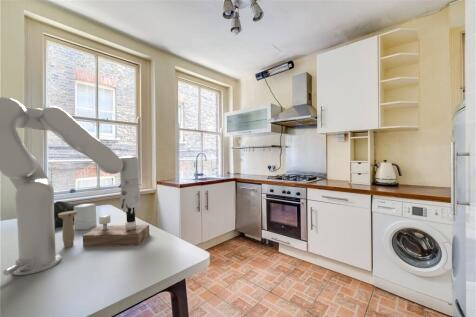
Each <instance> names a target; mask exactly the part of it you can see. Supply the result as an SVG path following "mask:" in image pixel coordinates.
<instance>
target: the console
mask: <svg viewBox="0 0 476 317" xmlns="http://www.w3.org/2000/svg"><path fill="white" fill-rule="evenodd" d="M148 235H149V236H150V224H136V228H135V229H133V230H130V231H129V230H126V227H125V225H124V224H122V225H119V224H118V225H107V231H103V225H99V226H98V227H96V228H94V229H92V230H90V231H89V232H87V233H84V234H82V247H83V248H84V247H86V248H87V247H89V248H90V247H91V248H92V247H121V246H122V247H129V246H128V245H134V246H139V245H140V244H141V243H142V242H144V240H146V239H147V238H148V237H149V236H148Z"/></svg>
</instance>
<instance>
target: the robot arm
mask: <svg viewBox="0 0 476 317" xmlns="http://www.w3.org/2000/svg"><path fill="white" fill-rule="evenodd" d="M17 128H19V129H28V130H29V129H30V130H39V131H51V132H52V133H53V134H55V136H57V137H58V138H59V139H60V140H62V141H63V142H64V143H66V145H68V146H69V147H71V149H73V150H74V151H76V152H79V153H81V154H82V155H85V156H86V157H87V158H89V160H92V161H93V162H94V163H95V164H96V165H98V168H99V170H100V171H101V172H103V173H106V174H109V175H116V174H119V176H120V178H119V180H120V182H119V183H120V199H119V200H120V202H119V203H120V208H121V209H122V212H123V213H125V215H126V222H134V221H135V220H136V209H137V207H138V206H139V205H141V204H142V203H141V202H142V200H141V191H140V190H141V189H140V186H139V184H140V183H139V182H140V181H139V180H140V179H139V158H138V157H137V156H121V157H119V155H118V154H116V153H115V152H114V151H113V150H112V149H111V148H109V147H108V146H107V145H106V144H104V143H103V142H102V141H100V140H99V139H98V138H97V137H95V136H94V135H93V134H92V133H90V132H89V131H88V130H87V129H86V128H85V127H84V126H82V125H81V124H80V123H79V122H78V121H77V120H76V119H74V118H73V117H72V115H70V114H69V113H68V112H67V111H65V110H64V109H62V108H61V107H58V106H53V105H52V106H51V105H50V106H47V107H45V108H37V107H30V106H24V105H23V104H22V103H21V102H19V101H18V100H16V99H14V98H10V97H4V96H3V97H2V96H1V97H0V173H1V174H2V175H3V176H6V178H7V177H8V179H9V181H11V183H12V185H13V186H14V188H15V189H16V191H15V199H14V200H15V207H16V208H15V209H16V220H17V223H16V225H17V238H18V240H17V241H18V242H17V243H18V244H17V245H18V259H16V260H15V264H13V266H12V265H11V266H10V267H8V268H6V269H4V270H3V272H2V273H3V275H4V276H9V275H12V274H13V275H15V276H27V275H32V274H37V273H40V272H42V271H45V270H48V269H50V268H52V267H54V266H56V265H58V264H59V263H60V262H61V261H62V255H60V254H57V253H56V251H57V250H56V230H55V229H56V227H55V221H54V203H55V190H54V186H53V184H52V182H51V180H50V178H49V177H48V176H47V174H46V173H45V170H44V169H43V167H42V166H41V164H40V163H39V160H38V159H37V158H36V157H35V156H34V155H32V154H31V152H30V151H29V149H28V148H27V146H26V145H25V143H24V141H23V138H21V136H20V135H19V132H18V131H17Z"/></svg>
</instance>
